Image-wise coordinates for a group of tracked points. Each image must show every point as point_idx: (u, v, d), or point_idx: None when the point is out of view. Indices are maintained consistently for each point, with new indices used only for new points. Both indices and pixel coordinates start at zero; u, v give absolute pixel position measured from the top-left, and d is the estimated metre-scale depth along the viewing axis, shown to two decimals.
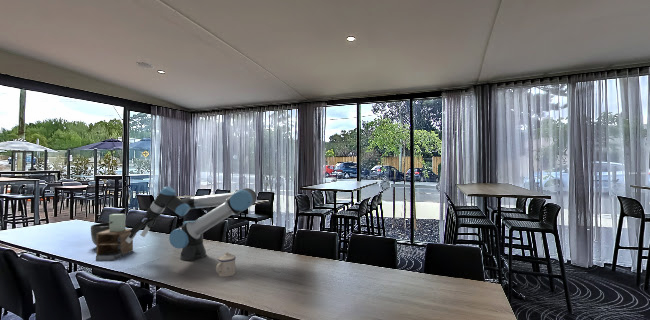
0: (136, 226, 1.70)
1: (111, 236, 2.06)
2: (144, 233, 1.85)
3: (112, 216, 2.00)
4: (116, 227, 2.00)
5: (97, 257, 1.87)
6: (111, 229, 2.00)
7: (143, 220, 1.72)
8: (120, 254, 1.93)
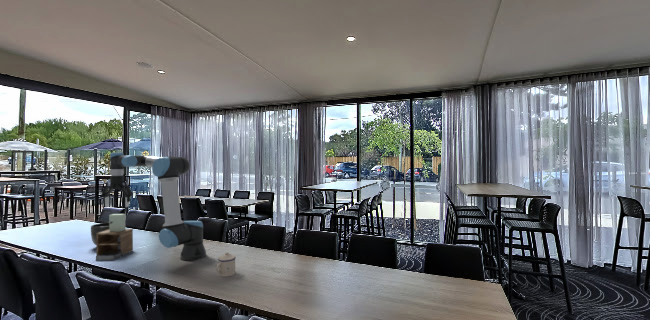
0: None
1: (111, 236, 2.06)
2: None
3: (112, 216, 2.00)
4: (116, 227, 2.00)
5: (97, 257, 1.87)
6: (111, 229, 2.00)
7: None
8: (120, 254, 1.93)
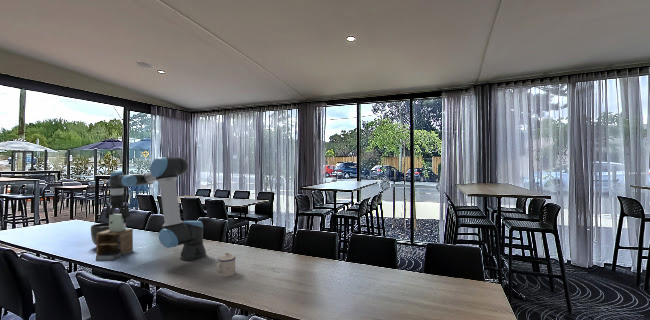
0: None
1: (111, 236, 2.06)
2: None
3: (112, 216, 2.00)
4: (116, 227, 2.00)
5: (97, 257, 1.87)
6: (111, 229, 2.00)
7: None
8: (120, 254, 1.93)
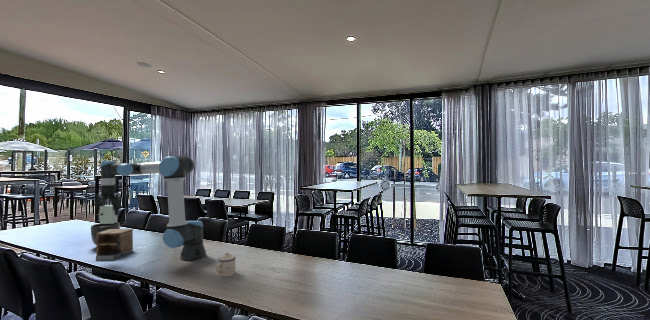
0: None
1: (111, 236, 2.06)
2: None
3: (103, 207, 1.88)
4: (107, 219, 1.88)
5: (97, 257, 1.87)
6: (102, 221, 1.88)
7: None
8: (120, 254, 1.93)
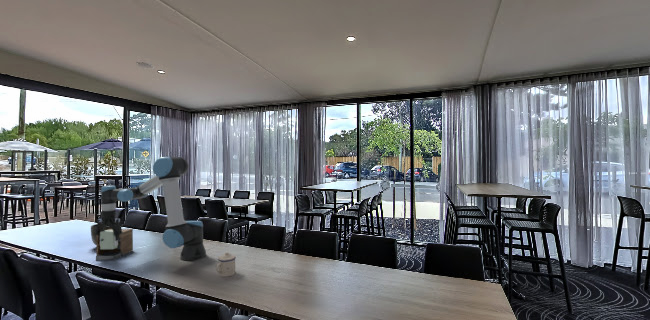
0: None
1: None
2: None
3: (103, 233, 1.88)
4: (107, 245, 1.88)
5: (97, 257, 1.87)
6: (102, 247, 1.88)
7: None
8: (120, 254, 1.93)
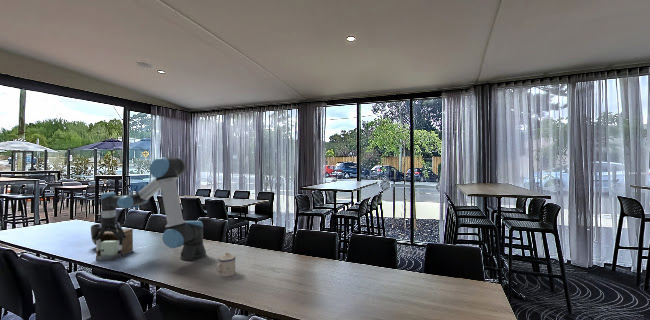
0: None
1: (111, 236, 2.06)
2: None
3: (103, 243, 1.88)
4: (107, 255, 1.88)
5: (97, 257, 1.87)
6: None
7: None
8: (120, 254, 1.93)
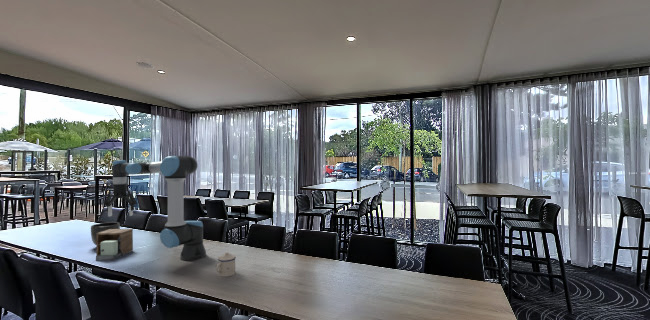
0: None
1: (111, 236, 2.06)
2: None
3: (103, 243, 1.88)
4: (107, 255, 1.88)
5: (97, 257, 1.87)
6: None
7: None
8: (120, 254, 1.93)
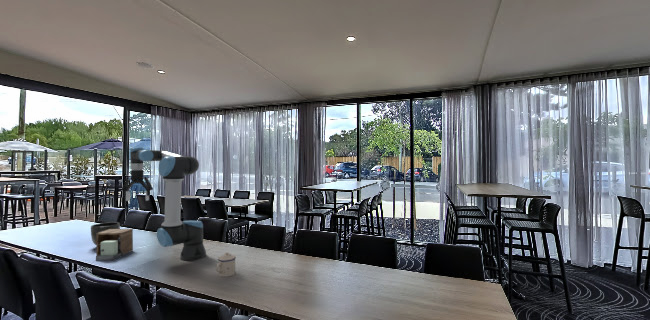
0: None
1: (111, 236, 2.06)
2: None
3: (103, 243, 1.88)
4: (107, 255, 1.88)
5: (97, 257, 1.87)
6: None
7: None
8: (120, 254, 1.93)
